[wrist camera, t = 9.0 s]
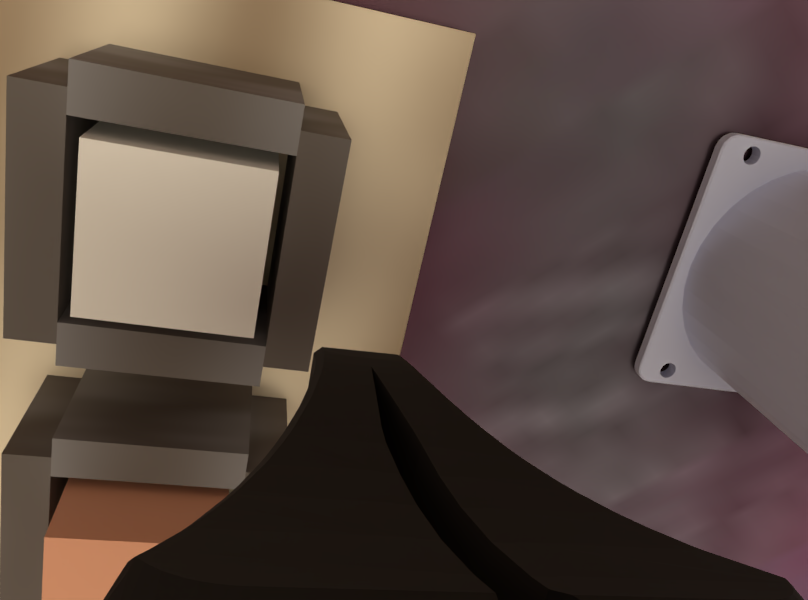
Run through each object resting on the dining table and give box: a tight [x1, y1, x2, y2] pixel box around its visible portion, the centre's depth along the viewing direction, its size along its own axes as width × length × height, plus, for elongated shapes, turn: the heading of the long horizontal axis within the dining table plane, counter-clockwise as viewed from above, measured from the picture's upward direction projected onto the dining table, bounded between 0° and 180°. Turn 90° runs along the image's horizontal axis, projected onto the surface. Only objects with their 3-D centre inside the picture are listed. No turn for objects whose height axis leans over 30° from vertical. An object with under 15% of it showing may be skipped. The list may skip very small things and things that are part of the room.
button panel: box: [0, 0, 476, 600], centre depth 20 cm, size 12×26×5 cm, turn 168°
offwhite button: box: [70, 121, 279, 338], centre depth 15 cm, size 4×4×3 cm
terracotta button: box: [42, 478, 229, 600], centre depth 17 cm, size 4×4×3 cm
